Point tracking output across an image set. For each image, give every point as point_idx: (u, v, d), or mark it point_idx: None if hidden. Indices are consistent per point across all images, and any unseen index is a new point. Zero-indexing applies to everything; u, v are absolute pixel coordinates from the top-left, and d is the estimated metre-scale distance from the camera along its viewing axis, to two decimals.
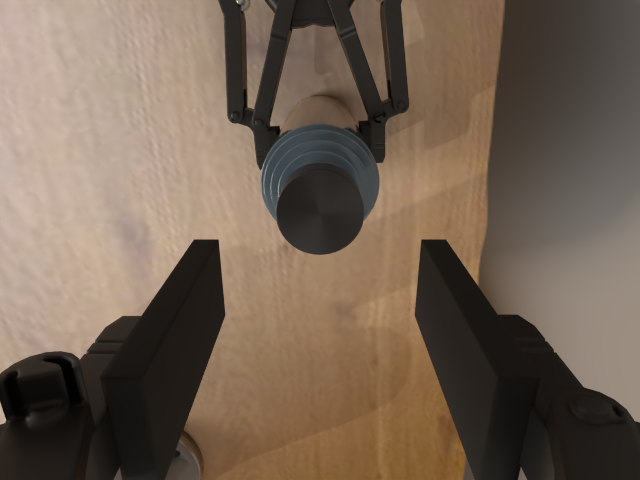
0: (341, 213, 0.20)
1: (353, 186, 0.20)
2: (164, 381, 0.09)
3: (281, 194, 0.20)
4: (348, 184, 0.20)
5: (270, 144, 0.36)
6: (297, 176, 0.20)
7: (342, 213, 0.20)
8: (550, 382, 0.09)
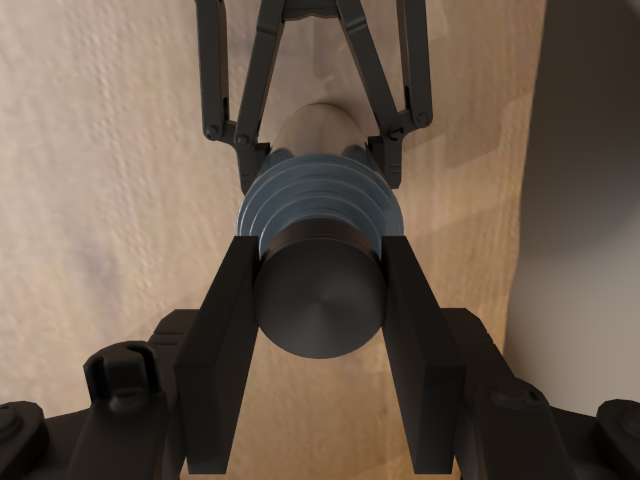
0: (353, 300, 0.13)
1: (372, 261, 0.13)
2: (226, 371, 0.09)
3: (258, 272, 0.13)
4: (365, 258, 0.13)
5: (257, 167, 0.28)
6: (284, 245, 0.13)
7: (354, 300, 0.13)
8: (483, 372, 0.09)
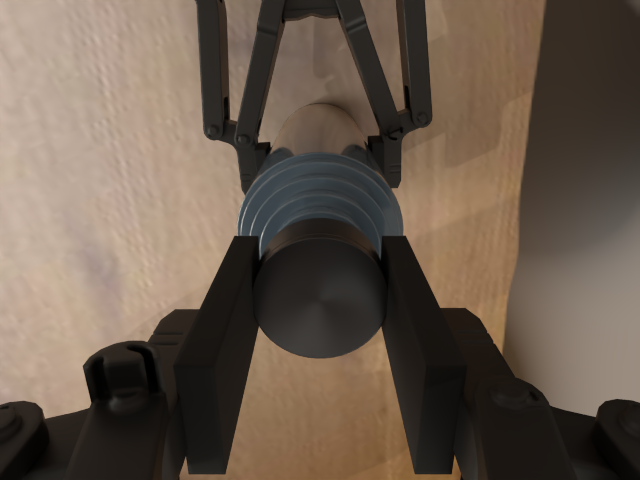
0: (295, 280, 0.13)
1: (252, 294, 0.13)
2: (226, 371, 0.09)
3: (336, 356, 0.14)
4: (255, 302, 0.13)
5: (258, 166, 0.29)
6: (300, 354, 0.14)
7: (294, 280, 0.13)
8: (483, 372, 0.09)
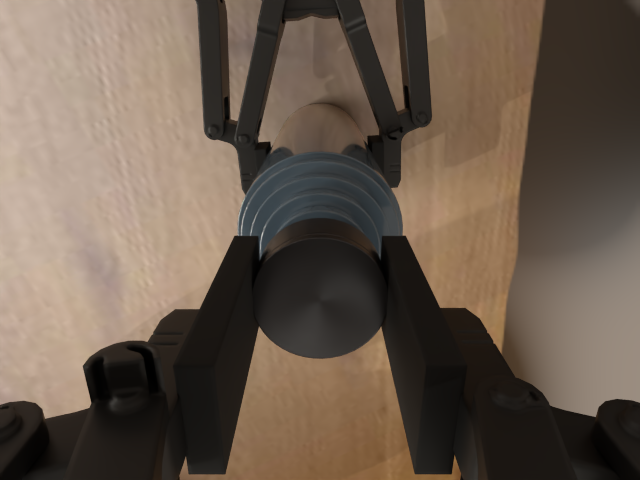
0: (319, 330, 0.14)
1: (358, 346, 0.14)
2: (227, 371, 0.09)
3: (358, 249, 0.13)
4: (362, 341, 0.14)
5: (258, 165, 0.29)
6: (383, 273, 0.13)
7: (319, 330, 0.14)
8: (483, 372, 0.09)
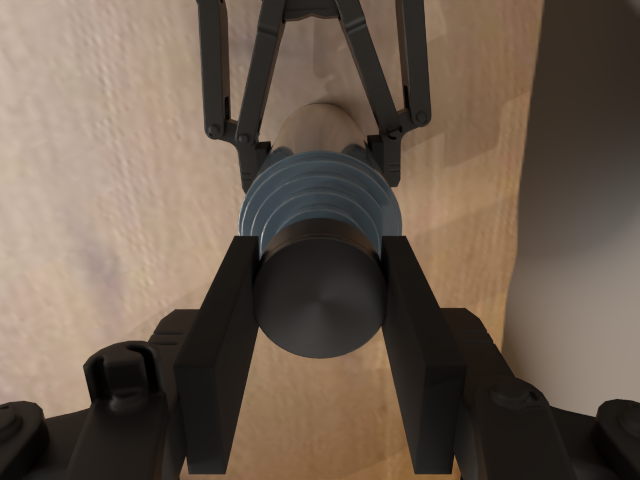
0: (345, 282, 0.13)
1: (333, 239, 0.12)
2: (226, 371, 0.09)
3: None
4: (324, 241, 0.12)
5: (258, 165, 0.29)
6: (255, 277, 0.13)
7: (346, 281, 0.13)
8: (483, 372, 0.09)
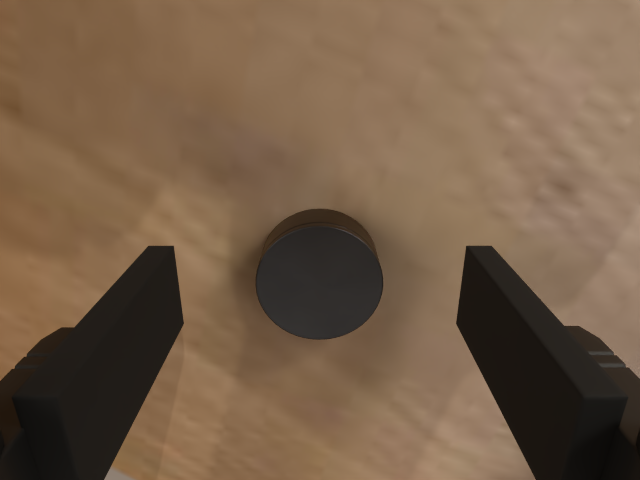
0: (343, 267, 0.14)
1: (331, 228, 0.14)
2: (91, 399, 0.09)
3: (258, 295, 0.14)
4: (323, 230, 0.14)
5: None
6: (259, 263, 0.14)
7: (343, 266, 0.14)
8: (631, 401, 0.08)
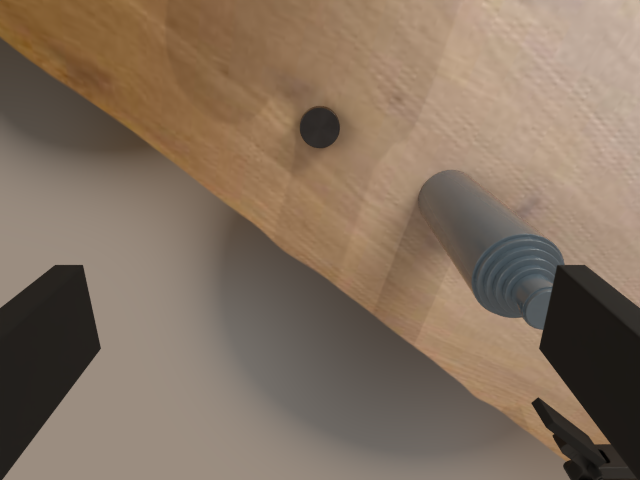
0: (327, 121, 0.45)
1: (323, 108, 0.45)
2: None
3: (300, 131, 0.46)
4: (321, 109, 0.45)
5: None
6: (301, 120, 0.46)
7: (327, 121, 0.45)
8: None
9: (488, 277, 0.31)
